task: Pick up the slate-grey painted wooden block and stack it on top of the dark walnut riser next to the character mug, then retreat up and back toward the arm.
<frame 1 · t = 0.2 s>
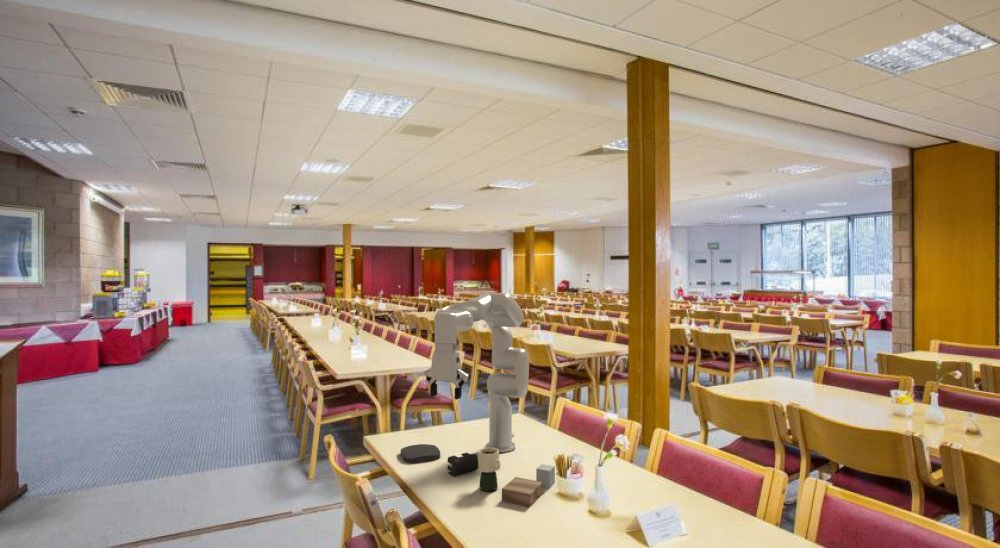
hand: (445, 397, 183), 31 cm above the table, tool pointing down, fingers open, 9 cm apart
walnut riser: (522, 497, 174), on the table
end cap: (463, 474, 195), on the table
character mug: (488, 489, 181), on the table
grey block: (545, 484, 185), on the table
media streaming box: (420, 457, 214), on the table
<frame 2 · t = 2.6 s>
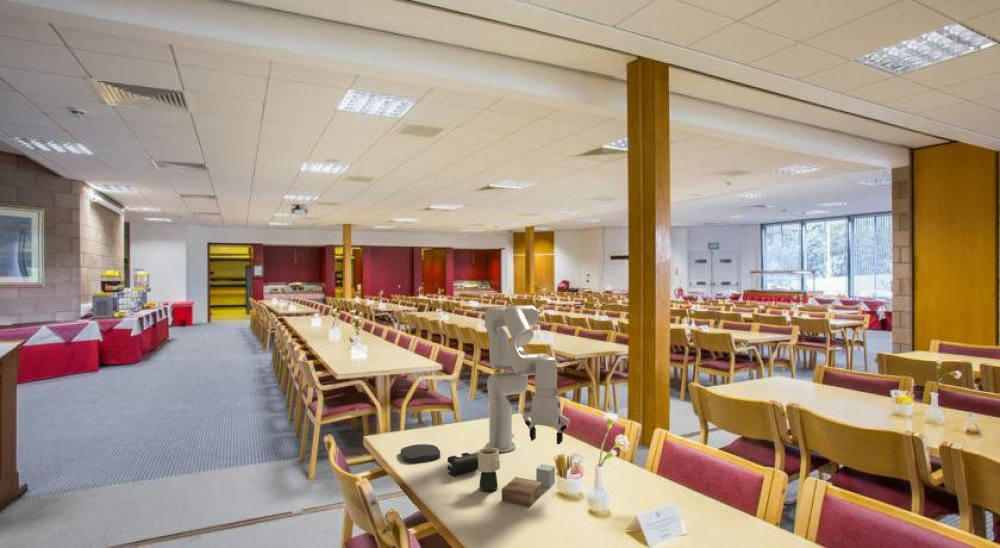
hand: (546, 441, 185), 15 cm above the table, tool pointing down, fingers open, 9 cm apart
nothing on the table moved.
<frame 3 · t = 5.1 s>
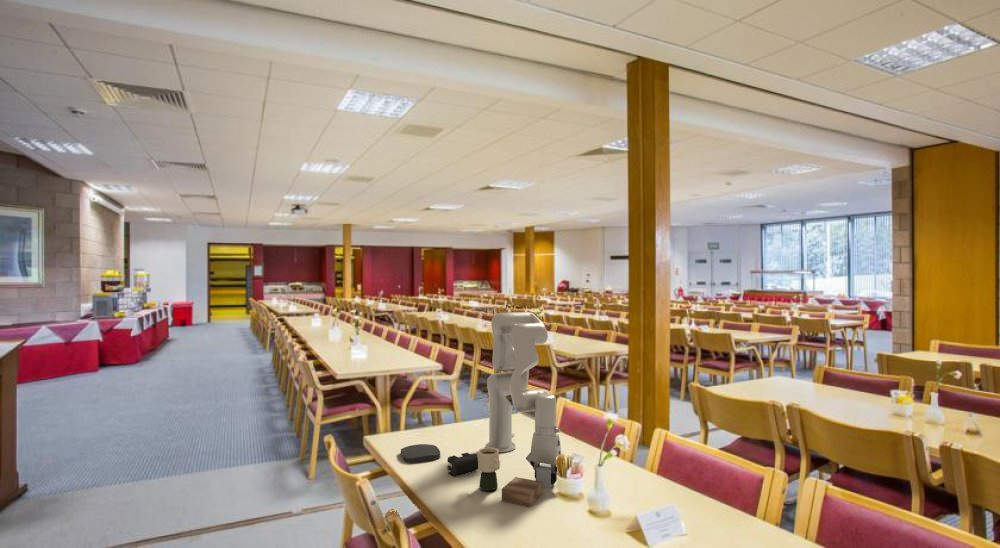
hand: (545, 481, 185), 1 cm above the table, tool pointing down, fingers closed on grey block, 5 cm apart
grey block: (545, 484, 185), on the table, touching gripper
everything else where it was.
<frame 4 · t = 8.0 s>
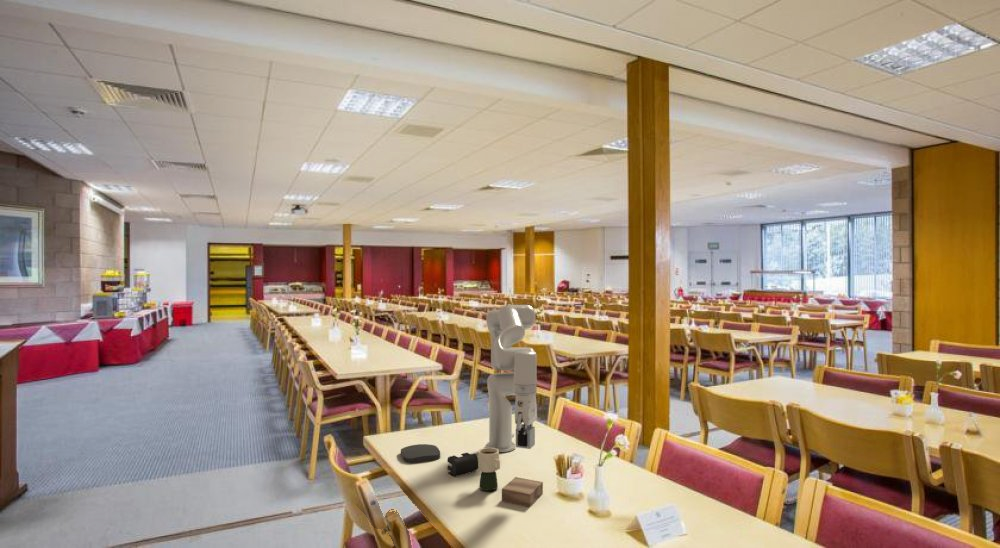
hand: (525, 442, 175), 18 cm above the table, tool pointing down, fingers closed on grey block, 5 cm apart
grey block: (525, 445, 175), point 17 cm above the table, touching gripper
everything else where it was.
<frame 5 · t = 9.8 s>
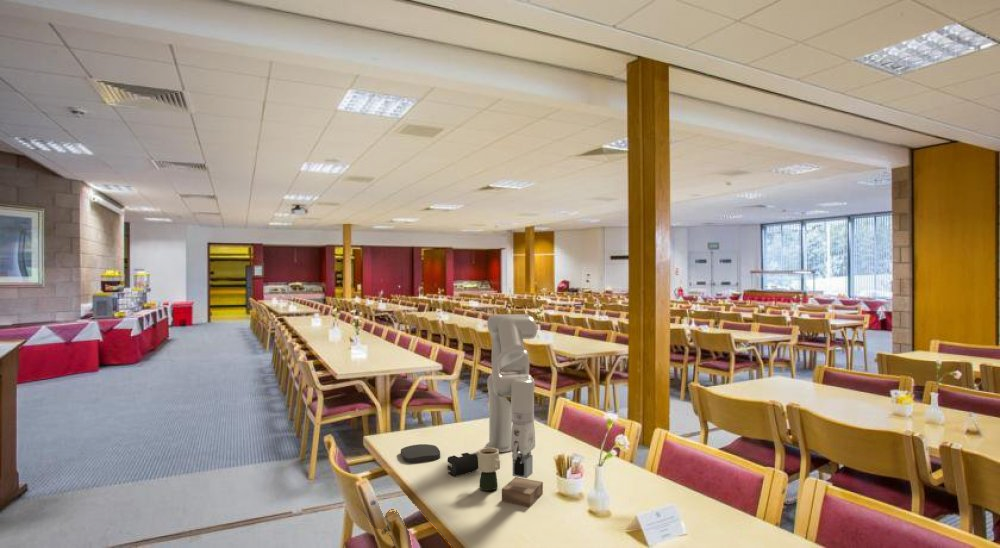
hand: (522, 471, 174), 9 cm above the table, tool pointing down, fingers closed on grey block, 5 cm apart
grey block: (522, 474, 174), point 8 cm above the table, touching gripper
everything else where it was.
when the fingers open (6 cm above the table, at t = 11.1 s): grey block drops 1 cm, resting on walnut riser.
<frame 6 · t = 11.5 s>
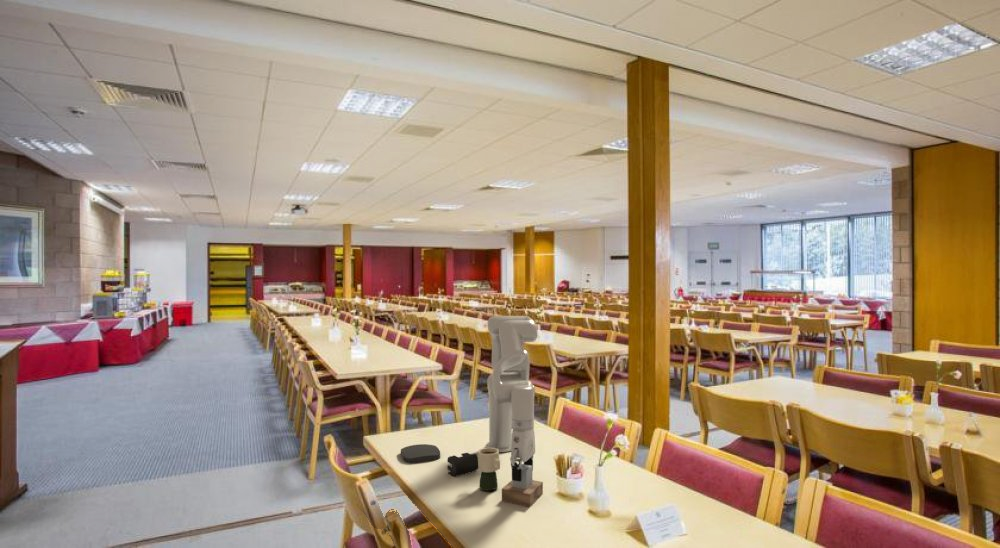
hand: (522, 475, 174), 7 cm above the table, tool pointing down, fingers open, 9 cm apart
grey block: (522, 485, 174), point 4 cm above the table, touching walnut riser
everything else where it was.
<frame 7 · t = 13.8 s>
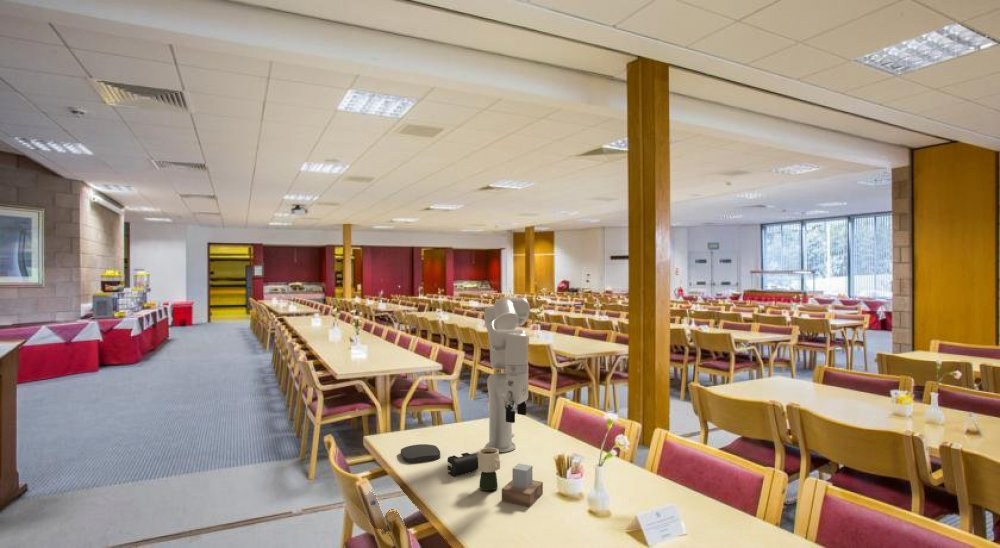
hand: (516, 418, 182), 24 cm above the table, tool pointing down, fingers open, 9 cm apart
nothing on the table moved.
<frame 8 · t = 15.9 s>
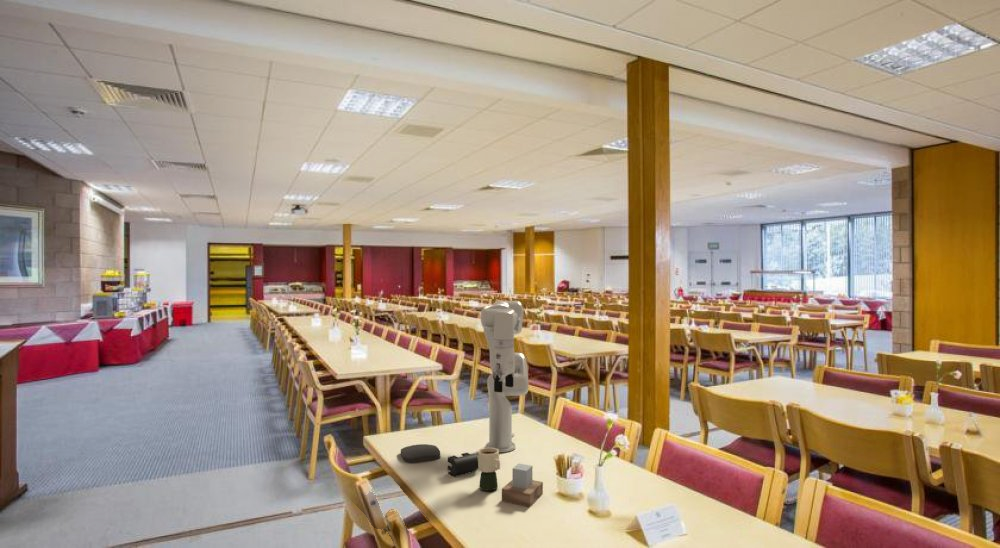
hand: (503, 389, 198), 30 cm above the table, tool pointing down, fingers open, 9 cm apart
nothing on the table moved.
at the end: grey block inside the target area on the walnut riser (0.1 cm from its centre), point 4.0 cm above the walnut riser's base; grey block tilted 0°; the gripper is holding nothing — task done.
